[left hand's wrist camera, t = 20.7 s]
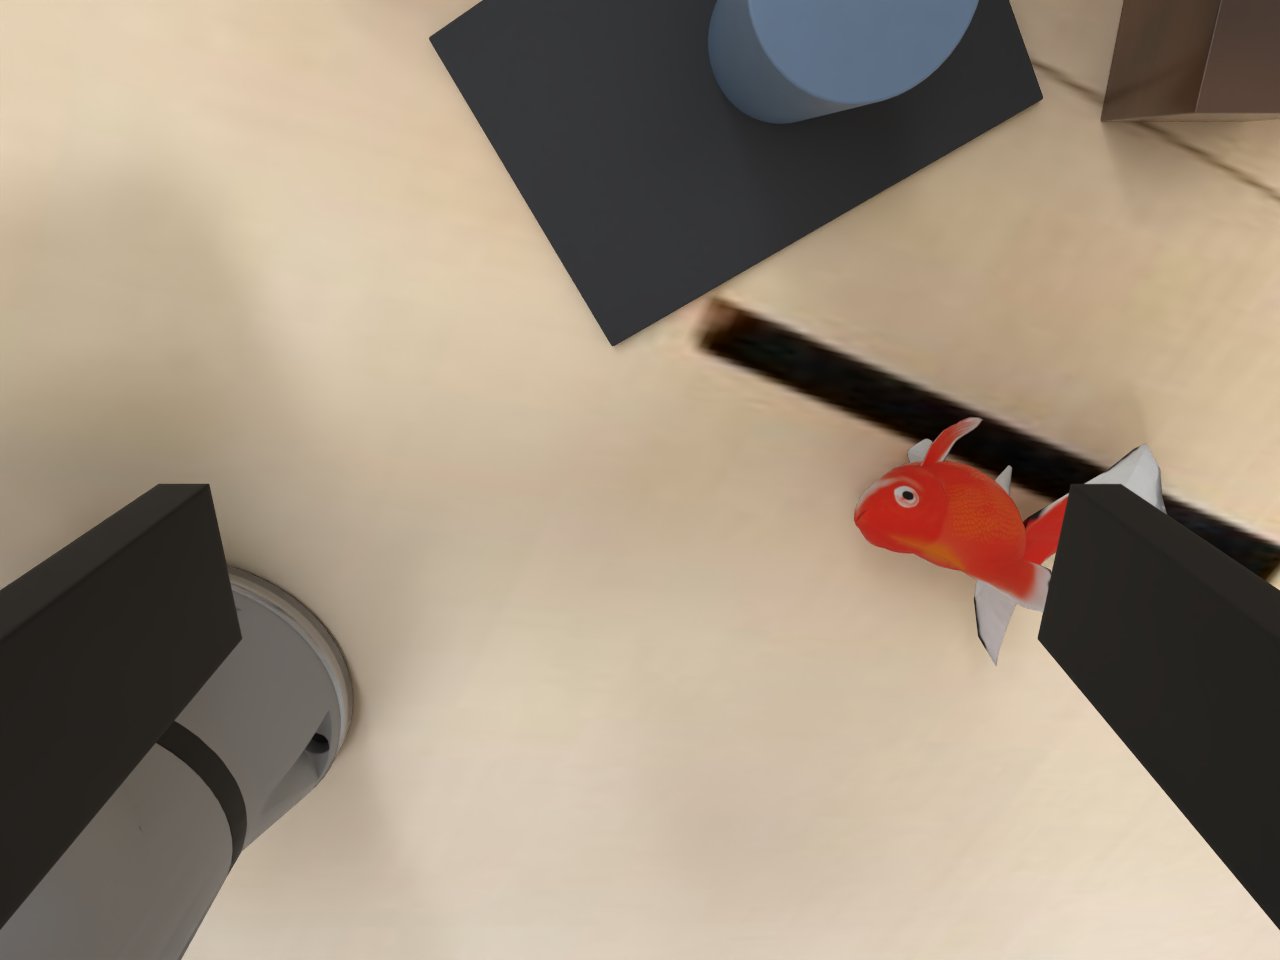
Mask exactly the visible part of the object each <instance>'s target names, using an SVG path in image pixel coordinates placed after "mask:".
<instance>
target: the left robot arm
mask: <svg viewBox="0 0 1280 960" xmlns="http://www.w3.org/2000/svg"><path fill="white" fill-rule="evenodd" d="M1038 640H1039V641H1040V642H1041V643H1042V645H1043V646H1044V647H1045V648H1046V650H1047V651H1048V652H1049V653H1050V654H1051V656H1052V657H1053V658H1054V659H1055V660H1056V662H1057V663H1058V664H1059V665H1060V666H1061V668H1062V669H1063V670H1064V671H1065V672H1066V674H1067V675H1068V676H1069V677H1070V678H1071V680H1072V681H1073V682H1074V683H1075V684H1076V686H1077V687H1078V688H1079V689H1080V690H1081V692H1082V693H1083V694H1084V695H1085V696H1086V698H1087V699H1088V700H1089V701H1090V702H1091V704H1092V705H1093V706H1094V707H1095V708H1096V710H1097V711H1098V712H1099V713H1100V714H1101V716H1102V717H1103V718H1104V719H1105V720H1106V722H1107V723H1108V724H1109V725H1110V726H1111V728H1112V729H1113V730H1114V731H1115V733H1116V734H1117V735H1118V736H1119V737H1120V739H1121V740H1122V741H1123V742H1124V743H1125V745H1126V746H1127V747H1128V748H1129V749H1130V751H1131V752H1132V753H1133V754H1134V755H1135V757H1136V758H1137V759H1138V760H1139V761H1140V763H1141V764H1142V765H1143V766H1144V767H1145V769H1146V770H1147V771H1148V772H1149V773H1150V775H1151V776H1152V777H1153V778H1154V779H1155V781H1156V782H1157V783H1158V784H1159V785H1160V787H1161V788H1162V789H1163V790H1164V791H1165V793H1166V794H1167V795H1168V796H1169V797H1170V799H1171V800H1172V801H1173V802H1174V803H1175V805H1176V806H1177V807H1178V808H1179V809H1180V811H1181V812H1182V813H1183V814H1184V815H1185V817H1186V818H1187V819H1188V820H1189V822H1190V823H1191V824H1192V825H1193V826H1194V828H1195V829H1196V830H1197V831H1198V832H1199V834H1200V835H1201V836H1202V837H1203V838H1204V840H1205V841H1206V842H1207V843H1208V844H1209V846H1210V847H1211V848H1212V849H1213V850H1214V852H1215V853H1216V854H1217V855H1218V856H1219V858H1220V859H1221V860H1222V861H1223V862H1224V864H1225V865H1226V866H1227V867H1228V868H1229V870H1230V871H1231V872H1232V873H1233V874H1234V876H1235V877H1236V878H1237V879H1238V880H1239V882H1240V883H1241V884H1242V885H1243V886H1244V888H1245V889H1246V890H1247V891H1248V892H1249V894H1250V895H1251V896H1252V897H1253V898H1254V900H1255V901H1256V902H1257V903H1258V904H1259V906H1260V907H1261V908H1262V909H1263V911H1264V912H1265V913H1266V914H1267V915H1268V917H1269V918H1270V919H1271V920H1272V921H1273V923H1274V924H1275V925H1276V926H1277V927H1278V929H1279V930H1280V590H1278V589H1277V588H1275V587H1274V586H1272V585H1271V584H1269V583H1268V582H1266V581H1265V580H1263V579H1262V578H1260V577H1259V576H1257V575H1256V574H1254V573H1253V572H1251V571H1250V570H1248V569H1247V568H1245V567H1244V566H1243V565H1241V564H1240V563H1238V562H1237V561H1235V560H1234V559H1232V558H1231V557H1229V556H1228V555H1226V554H1225V553H1223V552H1222V551H1220V550H1219V549H1217V548H1216V547H1214V546H1213V545H1211V544H1210V543H1208V542H1207V541H1205V540H1204V539H1202V538H1201V537H1199V536H1198V535H1196V534H1195V533H1193V532H1192V531H1190V530H1189V529H1187V528H1186V527H1184V526H1183V525H1182V524H1180V523H1179V522H1177V521H1176V520H1174V519H1173V518H1171V517H1170V516H1168V515H1167V514H1165V513H1164V512H1162V511H1161V510H1159V509H1158V508H1156V507H1155V506H1153V505H1152V504H1150V503H1149V502H1147V501H1146V500H1144V499H1143V498H1141V497H1140V496H1138V495H1137V494H1135V493H1134V492H1132V491H1131V490H1129V489H1128V488H1126V487H1125V486H1123V485H1122V484H1071V486H1070V490H1069V495H1068V500H1067V504H1066V509H1065V513H1064V518H1063V523H1062V527H1061V532H1060V537H1059V541H1058V546H1057V551H1056V555H1055V560H1054V565H1053V569H1052V574H1051V579H1050V583H1049V588H1048V593H1047V597H1046V602H1045V607H1044V611H1043V616H1042V621H1041V625H1040V630H1039V634H1038ZM352 710H353V692H352V685H351V680H350V676H349V672H348V669H347V667H346V664H345V661H344V659H343V657H342V655H341V653H340V651H339V649H338V647H337V645H336V644H335V642H334V640H333V639H332V637H331V636H330V634H329V633H328V632H327V630H326V629H325V628H324V627H323V625H322V624H321V623H320V622H319V621H318V620H317V619H316V618H315V616H314V615H313V614H312V613H311V612H310V611H308V610H307V609H306V608H305V607H304V606H303V605H302V604H301V603H299V602H298V601H297V600H296V599H294V598H293V597H292V596H290V595H289V594H287V593H286V592H284V591H283V590H281V589H280V588H278V587H277V586H275V585H273V584H271V583H269V582H268V581H266V580H264V579H262V578H260V577H257V576H255V575H253V574H251V573H248V572H245V571H243V570H240V569H237V568H234V567H230V566H227V565H226V560H225V555H224V551H223V546H222V541H221V537H220V532H219V527H218V523H217V518H216V514H215V509H214V504H213V500H212V495H211V490H210V486H209V484H158V485H157V486H155V487H154V488H152V489H151V490H149V491H148V492H146V493H145V494H143V495H142V496H140V497H139V498H137V499H136V500H134V501H133V502H131V503H130V504H128V505H127V506H125V507H124V508H122V509H121V510H119V511H118V512H116V513H115V514H113V515H112V516H110V517H109V518H107V519H106V520H104V521H103V522H101V523H100V524H98V525H97V526H96V527H94V528H93V529H91V530H90V531H88V532H87V533H85V534H84V535H82V536H81V537H79V538H78V539H76V540H75V541H73V542H72V543H70V544H69V545H67V546H66V547H64V548H63V549H61V550H60V551H58V552H57V553H55V554H54V555H52V556H51V557H49V558H48V559H46V560H45V561H43V562H42V563H40V564H39V565H37V566H36V567H35V568H33V569H32V570H30V571H29V572H27V573H26V574H24V575H23V576H21V577H20V578H18V579H17V580H15V581H14V582H12V583H11V584H9V585H8V586H6V587H5V588H3V589H2V590H0V960H181V959H182V957H183V955H184V953H185V952H186V950H187V948H188V946H189V944H190V943H191V941H192V939H193V937H194V935H195V934H196V932H197V930H198V928H199V926H200V924H201V923H202V921H203V919H204V917H205V915H206V914H207V912H208V910H209V908H210V906H211V905H212V903H213V901H214V899H215V897H216V896H217V894H218V892H219V890H220V888H221V887H222V885H223V883H224V881H225V879H226V877H227V875H228V874H229V872H230V870H231V869H232V867H233V865H234V863H235V862H236V860H237V858H238V857H239V855H240V853H241V852H242V851H243V850H244V849H245V848H246V847H247V846H248V845H249V844H251V843H252V842H253V841H254V840H255V839H256V838H257V837H259V836H260V835H261V834H262V833H263V832H264V831H266V830H267V829H268V828H269V827H270V826H271V825H272V824H274V823H275V822H276V821H277V820H278V819H279V818H281V817H282V816H283V815H284V814H285V813H286V812H287V811H289V810H290V809H291V808H292V807H293V806H294V805H295V804H297V803H298V802H299V801H300V800H301V799H302V798H304V797H305V796H306V795H307V794H308V793H309V792H310V791H311V790H312V789H313V788H314V787H316V786H317V784H318V783H319V782H320V781H321V780H322V779H323V778H324V776H325V775H326V773H327V772H328V770H329V769H330V767H331V765H332V763H333V761H334V759H335V758H336V756H337V754H338V752H339V750H340V748H341V746H342V744H343V742H344V740H345V738H346V735H347V733H348V730H349V727H350V723H351V718H352Z"/></svg>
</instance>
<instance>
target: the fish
mask: <svg viewBox="0 0 1280 960" xmlns="http://www.w3.org/2000/svg"><path fill="white" fill-rule="evenodd" d="M982 420H983V419H981V418H979V417H969V418H966V419H964V420H961V421H959V422H958V423H957V424H954V425H952V426H950V427H949V428H947V429H945V430H944V431H942V433H941V434H940V435H939V436H938V437H937V438H936V439H935V440H934V442H933V443H932V441H931V440H929V439H924V440H922V441H921V442H919V443H918V444H916V445H915V446H913V447H912V448H910V450H909V451H908V454H907V455H908V458H909V460H910V463H906V464H904V465H901V466H899V467H897V468H894V469H892V470H891V471H889V472H888V473H887V474H885V475H884V476H882V477H881V478H880V479H878V480H877V481H876V482H874V483H873V484H872V485H871V486H870V487H869V488H867V489H866V491H865V492H864V493H863V494H862V495H861V497H860V499H859V501H858V503H857V505H856V508H855V513H854V521H855V524H856V526H857V527H858V528H859V529H860V531H861V532H862V534H863V535H864V537H865V539H866V540H867V541H868V542H869V543H871V544H873V545H875V546H878V547H882V548H885V549H888V550H891V551H894V552H900V553H914V554H916V555H918V556H919V557H921V558H923V559H925V560H927V561H929V562H931V563H933V564H936V565H938V566H941V567H945V568H949V569H954V570H961V571H963V572H964V573H966V574H967V575H969V576H971V577H973V578H975V579H976V580H977V583H976V589H975V595H974V604H975V612H976V621H977V630H978V637H979V639H980V640H981V642H982V644H983V645H984V647H985V649H986V650H987V652H988V654H989V655H990V657H991V659H992V660H993V662H994V664H995V665H997V659H998V654H999V651H1000V647H1001V643H1002V640H1003V637H1004V634H1005V631H1006V628H1007V625H1008V623H1009V620H1010V617H1011V615H1012V613H1013V610H1014V608H1015V606H1016V604H1019V605H1021V606H1022V607H1024V608H1028V609H1032V610H1036V611H1040V612H1043V611H1044V607H1045V602H1046V597H1047V593H1048V588H1049V583H1050V579H1051V574H1052V573H1051V571H1050V570H1049V569H1048V568H1045V567H1043V566H1041V564H1042V563H1043V562H1044V561H1045V560H1047V559H1048V558H1049V557H1050V556H1051V555H1053V554H1054V553H1056V551H1057V546H1058V541H1059V537H1060V532H1061V527H1062V523H1063V518H1064V513H1065V509H1066V504H1067V500H1068V495H1069V493H1068V494H1066V495H1065V496H1063V497H1061V498H1060V499H1058V500H1057V501H1055V502H1053V503H1052V504H1050V505H1048V506H1047V507H1045V508H1043V509H1042V510H1040V511H1038V512H1036V513H1035V514H1033V515H1031V516H1030V517H1028V518H1027V519H1026V520H1025V521H1024V522H1022V519H1021V516H1020V514H1019V511H1018V509H1017V507H1016V505H1015V503H1014V502H1013V500H1012V499H1011V498H1010V482H1011V473H1012V467H1011V466H1010V465H1008V467H1007V468H1006V469H1005V470H1004V471H1003V472H1002V473H1001V474H1000V475H999V476H998V477H997V479H996V480H993V479H992V478H991V477H989V476H987V475H986V474H984V473H982V472H980V471H979V470H977V469H975V468H974V467H971V466H969V465H966V464H962V463H957V462H951V461H945V458H946V457H947V455H948V454H949V452H950V450H951V448H952V447H953V445H954V444H955V442H956V441H957V440H959V439H960V438H961V437H963V436H964V435H966V434H967V433H969V432H971V431H972V430H974V429H975V428H976V427H977V426H978V425H979V424H980V423H981V421H982ZM1085 484H1122V485H1123V486H1125V487H1126V488H1128V489H1129V490H1131V491H1132V492H1134V493H1135V494H1137V495H1138V496H1140V497H1141V498H1143V499H1144V500H1146V501H1147V502H1149V503H1150V504H1152V505H1153V506H1155V507H1156V508H1158V509H1159V510H1161V511H1162V512H1164V513H1165V514H1167V513H1166V510H1165V506H1164V502H1163V498H1162V489H1161V474H1160V468H1159V466H1158V464H1157V463H1156V461H1155V459H1154V457H1153V455H1152V453H1151V452H1150V450H1149V448H1148V446H1147V444H1143V445H1141V446H1139V447H1137V448H1135V449H1133V450H1132V451H1131V452H1130V453H1128V454H1127V455H1126V456H1125V457H1123V458H1122V459H1121V460H1120V461H1118V462H1117V463H1116V464H1115V465H1113V466H1112V467H1111V468H1110V469H1109V470H1107V471H1106V472H1104V473H1102V474H1100V475H1099V476H1097V477H1095V478H1094V479H1092V480H1090V481H1088V482H1087V483H1085Z"/></svg>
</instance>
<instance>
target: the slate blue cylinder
mask: <svg viewBox="0 0 1280 960" xmlns="http://www.w3.org/2000/svg"><path fill="white" fill-rule="evenodd" d="M978 1H979V0H717V2H716V4H715V7H714V10H713V13H712V16H711V21H710V26H709V35H708V51H709V58H710V63H711V67H712V71H713V74H714V76H715V78H716V81H717V83H718V85H719V87H720V88H721V90H722V92H723V93H724V94H725V96H726V97H727V98H728V100H729V101H730V102H731V103H732V104H733V105H734V106H735V107H736V108H738V109H739V110H740V111H742V112H743V113H745V114H746V115H748V116H750V117H752V118H754V119H757V120H760V121H763V122H767V123H774V124H787V123H794V122H798V121H803V120H807V119H811V118H815V117H819V116H823V115H827V114H831V113H835V112H839V111H843V110H847V109H851V108H855V107H860V106H864V105H868V104H872V103H876V102H880V101H884V100H887V99H889V98H892V97H895V96H898V95H900V94H902V93H904V92H905V91H907V90H909V89H911V88H913V87H914V86H916V85H917V84H919V83H920V82H922V81H923V80H925V79H926V78H927V77H928V76H929V75H931V74H932V73H933V72H934V71H935V70H936V69H937V68H939V66H940V65H941V64H942V63H943V62H944V61H945V60H946V59H947V58H948V57H949V55H950V54H951V53H952V51H953V50H954V49H955V47H956V46H957V44H958V43H959V42H960V40H961V38H962V37H963V35H964V33H965V31H966V30H967V28H968V26H969V24H970V22H971V20H972V17H973V15H974V13H975V10H976V8H977V5H978Z"/></svg>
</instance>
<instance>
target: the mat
mask: <svg viewBox="0 0 1280 960" xmlns="http://www.w3.org/2000/svg"><path fill="white" fill-rule="evenodd" d="M716 2H717V0H483V1H481V2H480V3H478V4H477V5H475V6H474V7H472V8H471V9H470V10H468V11H467V12H465V13H464V14H462V15H461V16H459V17H458V18H457V19H455V20H454V21H452V22H451V23H449V24H448V25H446V26H445V27H444V28H442V29H441V30H439V31H438V32H436V33H435V34H434V35H432V36H431V37H430V38H429V40H430V42H431V43H432V45H433V47H434V48H435V50H436V52H437V53H438V55H439V57H440V58H441V60H442V62H443V64H444V65H445V67H446V69H447V70H448V72H449V74H450V75H451V77H452V79H453V80H454V82H455V84H456V85H457V87H458V89H459V90H460V92H461V94H462V95H463V97H464V99H465V100H466V102H467V104H468V105H469V107H470V109H471V110H472V112H473V114H474V116H475V117H476V119H477V121H478V122H479V124H480V126H481V127H482V129H483V131H484V132H485V134H486V136H487V137H488V139H489V141H490V142H491V144H492V146H493V147H494V149H495V151H496V152H497V154H498V156H499V157H500V159H501V161H502V163H503V164H504V166H505V168H506V169H507V171H508V173H509V174H510V176H511V178H512V179H513V181H514V183H515V184H516V186H517V188H518V189H519V191H520V193H521V194H522V196H523V198H524V199H525V201H526V203H527V204H528V206H529V208H530V210H531V211H532V213H533V215H534V216H535V218H536V220H537V221H538V223H539V225H540V226H541V228H542V230H543V231H544V233H545V235H546V236H547V238H548V240H549V241H550V243H551V245H552V246H553V248H554V250H555V251H556V253H557V255H558V257H559V258H560V260H561V262H562V263H563V265H564V267H565V268H566V270H567V272H568V273H569V275H570V277H571V278H572V280H573V282H574V283H575V285H576V287H577V288H578V290H579V292H580V293H581V295H582V297H583V298H584V300H585V302H586V304H587V305H588V307H589V309H590V310H591V312H592V314H593V315H594V317H595V319H596V320H597V322H598V324H599V325H600V327H601V329H602V330H603V332H604V334H605V335H606V337H607V339H608V340H609V342H610V344H611V345H612V346H615V345H616V344H618V343H620V342H622V341H623V340H625V339H627V338H629V337H630V336H632V335H634V334H635V333H637V332H639V331H641V330H642V329H644V328H646V327H648V326H649V325H651V324H653V323H655V322H656V321H658V320H660V319H661V318H663V317H665V316H667V315H668V314H670V313H672V312H674V311H675V310H677V309H679V308H681V307H682V306H684V305H686V304H688V303H689V302H691V301H693V300H694V299H696V298H698V297H700V296H701V295H703V294H705V293H707V292H708V291H710V290H712V289H714V288H715V287H717V286H719V285H721V284H722V283H724V282H726V281H727V280H729V279H731V278H733V277H734V276H736V275H738V274H740V273H741V272H743V271H745V270H747V269H748V268H750V267H752V266H753V265H755V264H757V263H759V262H760V261H762V260H764V259H766V258H767V257H769V256H771V255H773V254H774V253H776V252H778V251H780V250H781V249H783V248H785V247H786V246H788V245H790V244H792V243H793V242H795V241H797V240H799V239H800V238H802V237H804V236H806V235H807V234H809V233H811V232H813V231H814V230H816V229H818V228H819V227H821V226H823V225H825V224H826V223H828V222H830V221H832V220H833V219H835V218H837V217H839V216H840V215H842V214H844V213H846V212H847V211H849V210H851V209H852V208H854V207H856V206H858V205H859V204H861V203H863V202H865V201H866V200H868V199H870V198H872V197H873V196H875V195H877V194H878V193H880V192H882V191H884V190H885V189H887V188H889V187H891V186H892V185H894V184H896V183H898V182H899V181H901V180H903V179H905V178H906V177H908V176H910V175H911V174H913V173H915V172H917V171H918V170H920V169H922V168H924V167H925V166H927V165H929V164H931V163H932V162H934V161H936V160H938V159H939V158H941V157H943V156H944V155H946V154H948V153H950V152H951V151H953V150H955V149H957V148H958V147H960V146H962V145H964V144H965V143H967V142H969V141H970V140H972V139H974V138H976V137H977V136H979V135H981V134H983V133H984V132H986V131H988V130H990V129H991V128H993V127H995V126H997V125H998V124H1000V123H1002V122H1003V121H1005V120H1007V119H1009V118H1010V117H1012V116H1014V115H1016V114H1017V113H1019V112H1021V111H1023V110H1024V109H1026V108H1028V107H1030V106H1031V105H1033V104H1035V103H1036V102H1038V101H1040V100H1042V99H1043V96H1042V93H1041V90H1040V87H1039V84H1038V82H1037V79H1036V76H1035V73H1034V70H1033V67H1032V65H1031V62H1030V59H1029V56H1028V53H1027V50H1026V48H1025V45H1024V42H1023V39H1022V36H1021V33H1020V31H1019V28H1018V25H1017V22H1016V19H1015V16H1014V14H1013V11H1012V8H1011V5H1010V2H1009V0H979V1H978V5H977V8H976V10H975V13H974V15H973V17H972V20H971V22H970V24H969V26H968V28H967V30H966V31H965V33H964V35H963V37H962V38H961V40H960V42H959V43H958V44H957V46H956V47H955V49H954V50H953V51H952V53H951V54H950V55H949V57H948V58H947V59H946V60H945V61H944V62H943V63H942V64H941V65H940V66H939V68H937V69H936V70H935V71H934V72H933V73H932V74H931V75H929V76H928V77H927V78H926V79H925V80H923V81H922V82H920V83H919V84H917V85H916V86H914V87H913V88H911V89H909V90H907V91H905V92H904V93H902V94H900V95H898V96H895V97H892V98H889V99H887V100H884V101H880V102H876V103H872V104H868V105H864V106H860V107H855V108H851V109H847V110H843V111H839V112H835V113H831V114H827V115H823V116H819V117H815V118H811V119H807V120H803V121H798V122H794V123H787V124H774V123H767V122H763V121H760V120H757V119H754V118H752V117H750V116H748V115H746V114H745V113H743V112H742V111H740V110H739V109H738V108H736V107H735V106H734V105H733V104H732V103H731V102H730V101H729V100H728V98H727V97H726V96H725V94H724V93H723V92H722V90H721V88H720V87H719V85H718V83H717V81H716V78H715V76H714V74H713V71H712V67H711V63H710V58H709V51H708V35H709V26H710V21H711V16H712V13H713V10H714V7H715V4H716Z"/></svg>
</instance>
